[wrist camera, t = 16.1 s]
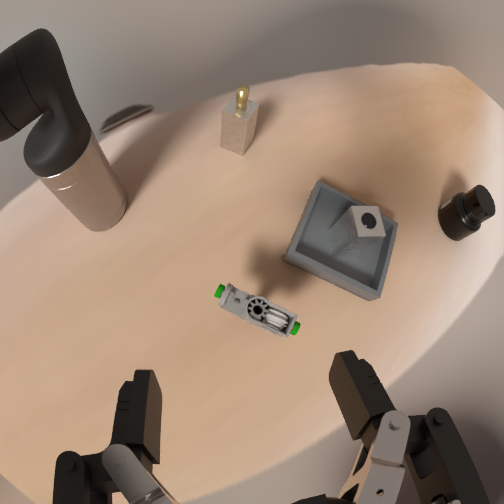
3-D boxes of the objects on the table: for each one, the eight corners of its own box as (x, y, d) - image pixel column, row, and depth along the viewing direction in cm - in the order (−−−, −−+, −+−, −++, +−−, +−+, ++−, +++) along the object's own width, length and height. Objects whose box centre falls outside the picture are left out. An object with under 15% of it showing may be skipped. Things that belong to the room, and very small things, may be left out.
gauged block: (220, 146, 49) (222, 92, 36) (231, 131, 50) (236, 77, 37) (242, 155, 49) (250, 101, 36) (253, 139, 50) (263, 86, 37)
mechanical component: (222, 291, 41) (223, 276, 32) (285, 322, 41) (304, 317, 31) (213, 309, 40) (211, 300, 31) (276, 340, 40) (293, 340, 30)
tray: (282, 260, 43) (287, 253, 40) (312, 189, 48) (318, 179, 45) (369, 301, 43) (379, 297, 40) (388, 229, 47) (398, 222, 44)
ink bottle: (461, 211, 52) (493, 188, 41) (466, 245, 49) (502, 226, 38) (433, 199, 52) (466, 173, 40) (438, 236, 49) (476, 213, 37)
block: (332, 257, 44) (358, 236, 35) (327, 231, 45) (351, 205, 36) (356, 255, 45) (386, 235, 35) (351, 230, 46) (378, 205, 37)
